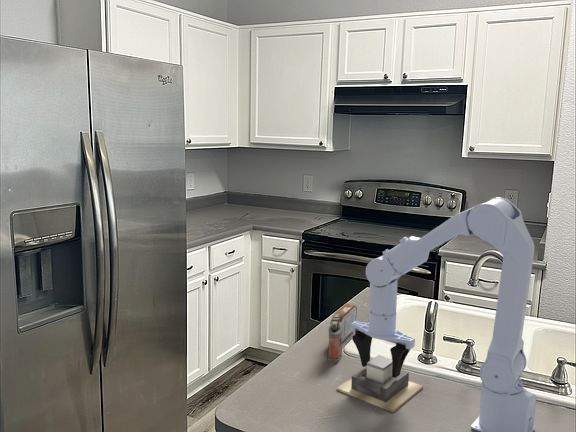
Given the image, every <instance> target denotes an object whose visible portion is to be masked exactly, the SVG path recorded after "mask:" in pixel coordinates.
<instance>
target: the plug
mask: <svg viewBox="0 0 576 432" xmlns="http://www.w3.org/2000/svg"><path fill="white" fill-rule="evenodd" d="M367 378H369V379H372V380H374V381H377V382H380V383H382V384H385V383H386V382H387V381H389V380H390V379H391V378H393V377H392V358H390V357H387V356H384V355H380V354H378V355H377V356H375V357H373V358H372V359H370V361H369V362H367Z"/></svg>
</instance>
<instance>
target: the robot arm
mask: <svg viewBox="0 0 576 432" xmlns="http://www.w3.org/2000/svg"><path fill="white" fill-rule="evenodd" d="M473 234H474V235H475V237H478V238H480V239H481V240H483V241H484V242H487V243H488V244H489V245H492V246H493V247H494V248H495V249H496V250H497V251H498V252H499V253H500V254H501V255H502V265H501V273H500V280H499V287H498V293H497V294H498V295H497V300H496V309H495V318H494V326H493V332H492V337H491V340H490V341H491V342H490V343H489V347H488V349H487V354H486V359H485V360H484V362H483V363H482V364H481V366H480V368H479V378H480V381H481V386H480V388H481V389H480V390H481V391H480V402H479V403H480V404H479V415H478V417H476V419H475V420H474V421H473V423H472V424H470V428H471V429H472V430H475V431H477V432H534V431H535V416H536V408H537V407H536V405H537V397H536V394H534V393H533V392H531V391H529V390H527V389H526V388H524V384H523V381H522V379H521V374H522V373H523V371H524V370H525V369H526V367H527V357H526V355H525V351H524V344H525V342H524V340H523V332H524V326H525V325H524V324H525V318H526V310H527V304H528V298H529V291H530V284H531V283H530V282H531V276H532V270H533V264H534V263H533V262H534V257H535V256H534V255H535V249H536V248H535V244H534V241H533V238H532V236H531V235H530V233H529V230H528V228H527V225H526V224H525V221H524V219H523V214H522V211H521V210H520V209H519V208H518V207H517V206H516V205H515V204H513V202H512V201H510V200H509V199H508V198H505V197H501V196H500V197H493V198H490V199H488V200H487V201H486V202H483V203H479V204H477V205H475V206H473V207H471V208H468V209H466V210H463V211H461V212H459V213H456V214H454V215H453V216H452V217H450V218H448V219H447V220H445V221H444V222H442V223H441V224H440V225H439V226H436V227H435V228H433V229H432V230H431V231H429V232H428V233H426V234H425V235H423V236H421V237H417V236H413V235H411V236H409V237H408V236H404V237H402V238H401V239H399V243H398V244H397V245H396V246H393V248H391V249H388V248H387V249H385V250H383V251H382V255H381V256H378V257H376V258H372V259H371V260H370V261H369V262H368V263H367V265H366V266H365V277H366V279H367V280H368V281H369V297H368V299H369V300H368V301H369V303H368V304H369V305H368V322H363V321H362V322H361V321H359V320H356V321H355V322H353V323H351V332H352V333H354V335H353V336H352V338H351V339H352V342H353V343H354V345H355V347H356V349H357V351H358V354H359V358H360V362H361V366H362V367H363V368H365V367H366V366H367V362H369V361H370V360H371V347H372V342H373V339H375V340H376V339H377V340H381V341H386V342H389V343H392V344H395V345H394V346H392V347H391V348H389V351H390V356H391V359H392V377H394V378H396V377H398V376H399V375H400V372H401V370H402V368H403V365H404V363H405V360H406V358H407V356H408V354H409V353H410V352H411V350H412V349H413V348H415V346H416V345H415V343H416V338H415V337H414V336H413V337H412V336H410V335H408V334H406V333H404V332H402V331H400V330H398V329H396V328H397V304H398V303H397V300H398V280H399V279H400V277H402V276H404V275H406V274H407V273H409V272H410V271H412V270H414V269H415V268H418V266H420V265H422V264H424V263H426V262H427V261H428V259H429V255H430V252H431V251H432V250H434V249H436V248H437V247H439V246H442V244H445V243H447V242H448V241H450V240H451V239H453V238H456V237H457V236H458V235H462V236H467V237H469V236H472V235H473Z"/></svg>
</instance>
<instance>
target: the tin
mask: <svg viewBox="0 0 576 432" xmlns="http://www.w3.org/2000/svg"><path fill="white" fill-rule="evenodd" d="M357 313H358V308H357V306H356V305H355V304H350V303H348V302H346V303H344V304H343V305H342V306H341V307H340V308H338V309H337V310H336V311H335V312H334V314H333V316H332V318H334V316H335V314H339V322H341V323H342V324H343V331H342V333H343V338H342V343H343V342H344V341H346V339H347V338H349V336H350V335H351V334H352V333H353V332H351V323H353V322H355V321H357ZM332 318H331V320H330V324H331V322H332ZM330 324H329V325H330Z"/></svg>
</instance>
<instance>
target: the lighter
mask: <svg viewBox="0 0 576 432" xmlns="http://www.w3.org/2000/svg"><path fill="white" fill-rule="evenodd" d="M334 314H335V313H334ZM331 320H332V322H331V321H330V323H331V324H329V327H328V329H327V330H328V331H327V332H328V352H327V359H328V362H329V363H331V364H338V363H340V361H341V359H342V357H343V348H342V345H343V342H342V338H343V333H342V331H343V324H342V323H341V322H339V314H335V316H334V318H331Z"/></svg>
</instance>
